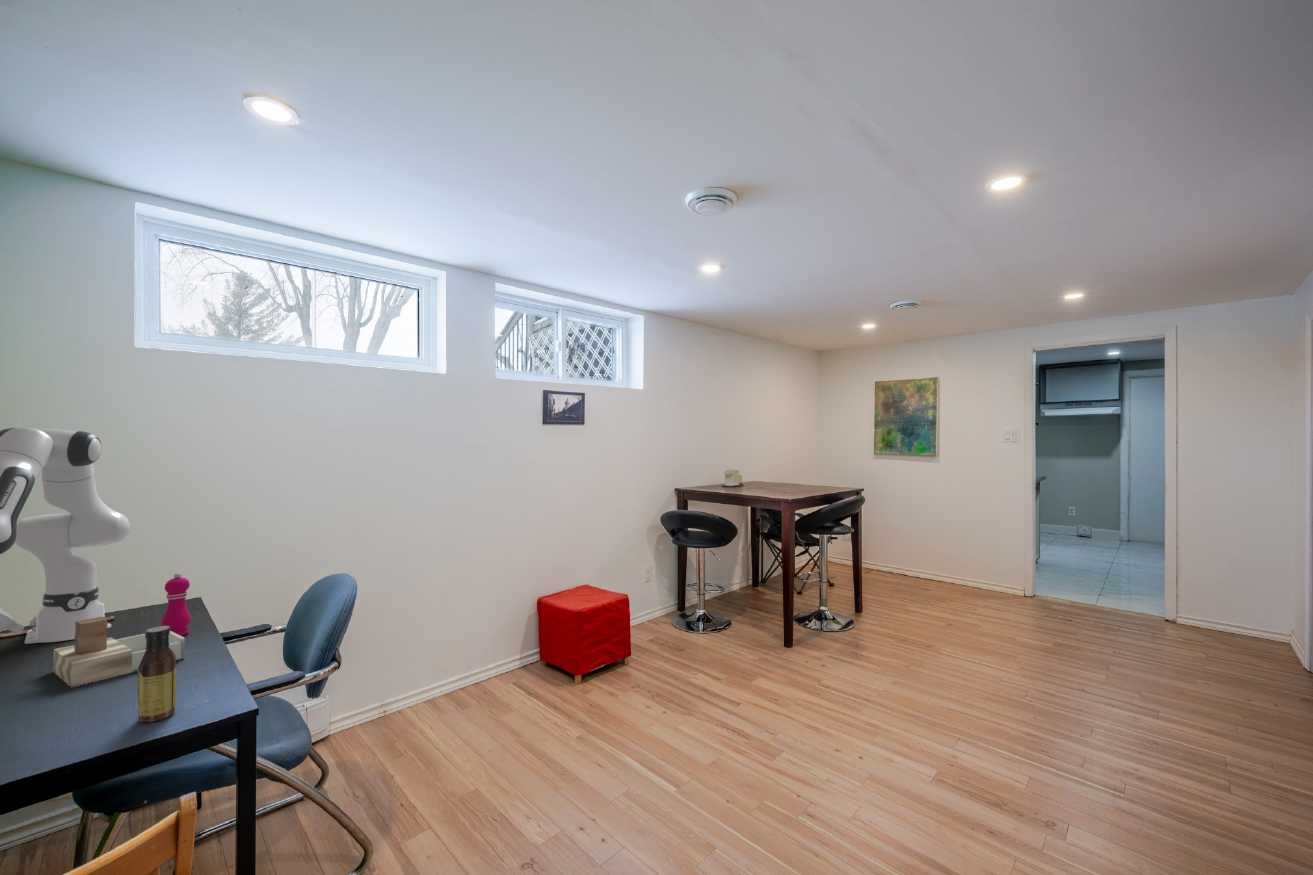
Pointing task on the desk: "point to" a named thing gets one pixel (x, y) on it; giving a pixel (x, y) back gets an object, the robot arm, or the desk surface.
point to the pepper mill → (177, 605)
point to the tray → (139, 647)
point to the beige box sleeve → (92, 663)
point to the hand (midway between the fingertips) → (20, 629)
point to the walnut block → (90, 635)
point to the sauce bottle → (157, 677)
